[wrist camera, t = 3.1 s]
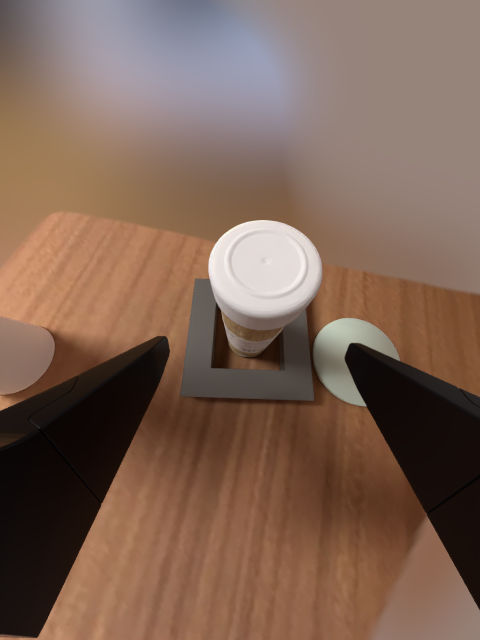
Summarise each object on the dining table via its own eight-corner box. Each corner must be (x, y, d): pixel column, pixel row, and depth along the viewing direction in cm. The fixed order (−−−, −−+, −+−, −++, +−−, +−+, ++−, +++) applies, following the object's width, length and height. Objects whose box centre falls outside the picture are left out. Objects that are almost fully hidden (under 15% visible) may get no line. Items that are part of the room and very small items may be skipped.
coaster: (406, 407, 17) (412, 408, 17) (316, 404, 17) (319, 404, 17) (385, 321, 20) (389, 319, 20) (308, 318, 20) (310, 316, 20)
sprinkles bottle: (269, 321, 20) (326, 221, 7) (265, 361, 19) (328, 325, 6) (230, 315, 20) (217, 208, 7) (223, 355, 19) (194, 306, 6)
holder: (305, 398, 18) (314, 400, 16) (186, 394, 17) (180, 396, 16) (297, 291, 21) (303, 282, 19) (199, 287, 21) (195, 278, 19)
